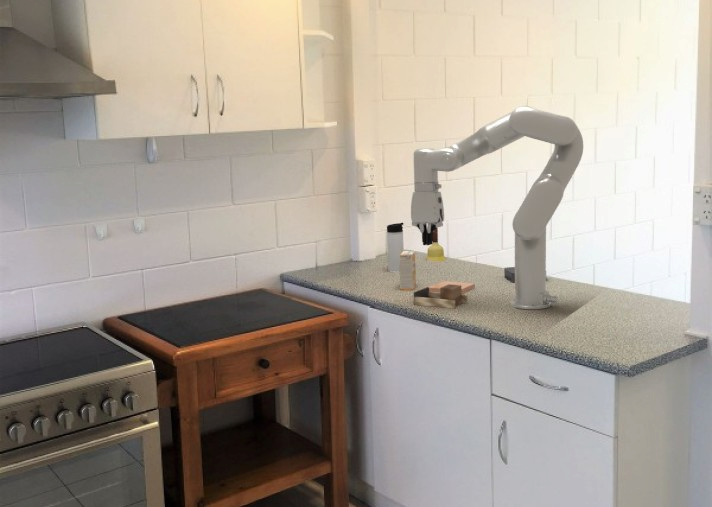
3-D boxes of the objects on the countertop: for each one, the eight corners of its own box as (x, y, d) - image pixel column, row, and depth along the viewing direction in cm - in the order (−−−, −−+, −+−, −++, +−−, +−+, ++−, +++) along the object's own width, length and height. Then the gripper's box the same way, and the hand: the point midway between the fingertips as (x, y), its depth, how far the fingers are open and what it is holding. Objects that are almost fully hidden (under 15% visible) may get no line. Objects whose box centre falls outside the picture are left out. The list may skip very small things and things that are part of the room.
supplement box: (413, 291, 280) (412, 254, 278) (400, 291, 281) (398, 254, 279) (416, 286, 288) (415, 250, 286) (403, 286, 289) (402, 250, 287)
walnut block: (461, 303, 258) (461, 285, 257) (453, 307, 253) (452, 288, 252) (449, 302, 260) (448, 284, 259) (440, 306, 255) (440, 287, 254)
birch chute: (467, 302, 258) (467, 290, 258) (454, 308, 251) (454, 296, 250) (427, 298, 266) (427, 287, 266) (413, 304, 259) (413, 292, 258)
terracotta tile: (474, 289, 278) (474, 283, 278) (459, 296, 269) (459, 290, 268) (444, 286, 285) (444, 281, 285) (427, 293, 275) (427, 287, 275)
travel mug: (405, 275, 310) (403, 223, 307) (388, 275, 310) (386, 224, 307) (404, 272, 316) (403, 221, 313) (388, 272, 317) (386, 222, 313)
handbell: (438, 260, 340) (436, 201, 336) (457, 264, 330) (455, 203, 326) (415, 264, 334) (413, 204, 330) (433, 268, 323) (431, 206, 319)
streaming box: (548, 284, 283) (548, 271, 283) (513, 286, 282) (513, 273, 281) (536, 277, 296) (536, 265, 295) (502, 279, 295) (502, 267, 294)
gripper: (452, 186, 254) (454, 244, 257) (411, 186, 262) (413, 242, 265) (441, 188, 248) (442, 247, 251) (399, 188, 256) (401, 245, 259)
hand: (427, 244), depth 258 cm, fingers closed
